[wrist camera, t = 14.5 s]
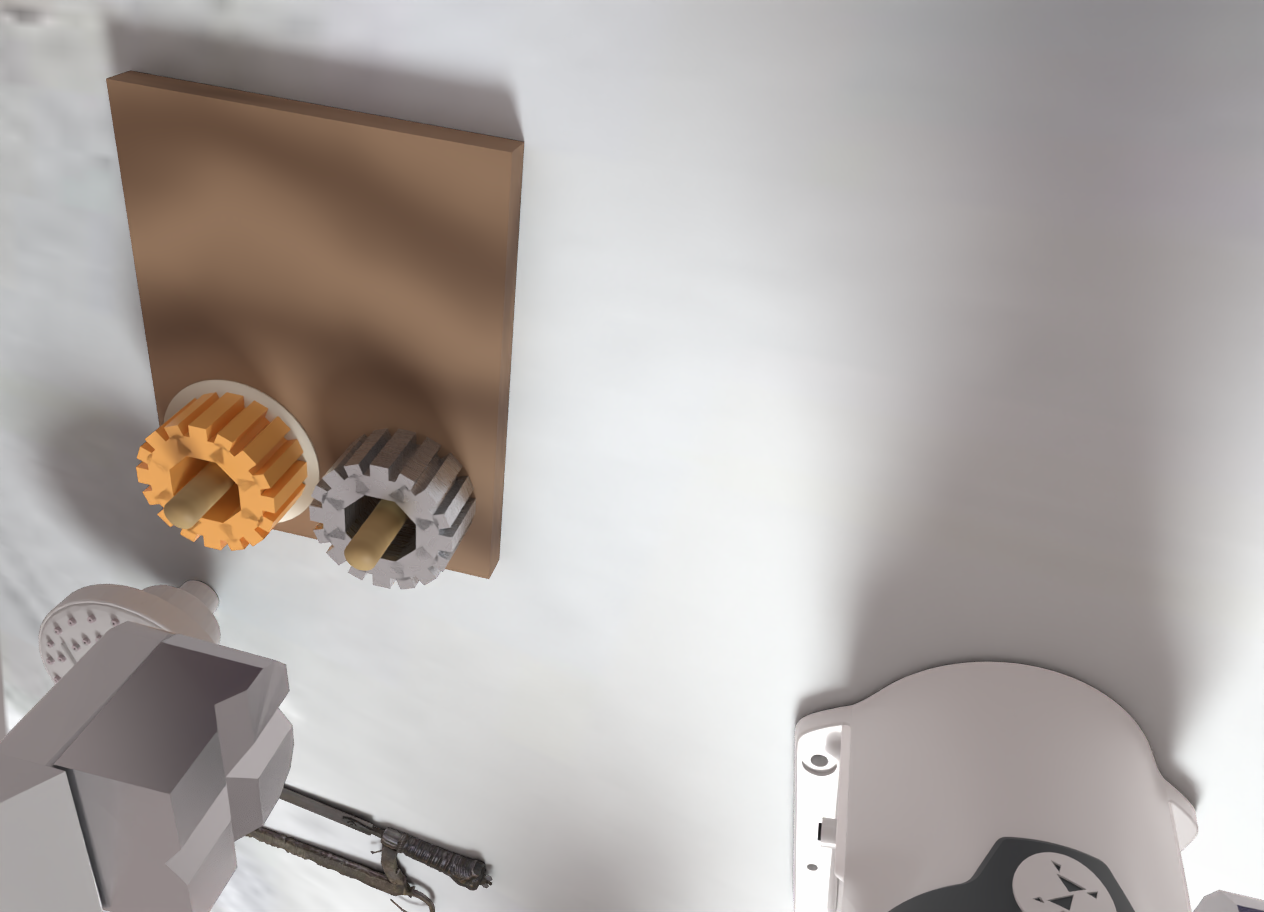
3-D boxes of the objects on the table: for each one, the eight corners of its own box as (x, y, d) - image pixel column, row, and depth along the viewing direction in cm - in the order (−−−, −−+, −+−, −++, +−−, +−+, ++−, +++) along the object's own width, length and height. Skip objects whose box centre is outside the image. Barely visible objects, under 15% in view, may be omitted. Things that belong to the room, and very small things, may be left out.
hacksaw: (500, 860, 62) (492, 882, 61) (467, 949, 68) (459, 970, 66) (127, 717, 62) (111, 736, 61) (124, 818, 68) (110, 837, 67)
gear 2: (473, 561, 48) (450, 602, 45) (342, 532, 48) (313, 570, 46) (478, 445, 44) (453, 482, 42) (337, 415, 45) (305, 450, 42)
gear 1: (310, 525, 48) (279, 563, 46) (184, 496, 49) (147, 532, 47) (303, 408, 45) (268, 443, 42) (167, 379, 46) (126, 411, 43)
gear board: (499, 559, 49) (451, 650, 44) (189, 489, 51) (106, 568, 46) (524, 141, 38) (464, 194, 33) (130, 70, 40) (12, 109, 35)
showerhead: (245, 768, 50) (73, 758, 52) (314, 666, 56) (157, 661, 58) (174, 615, 45) (-11, 612, 48) (258, 522, 51) (90, 523, 54)
